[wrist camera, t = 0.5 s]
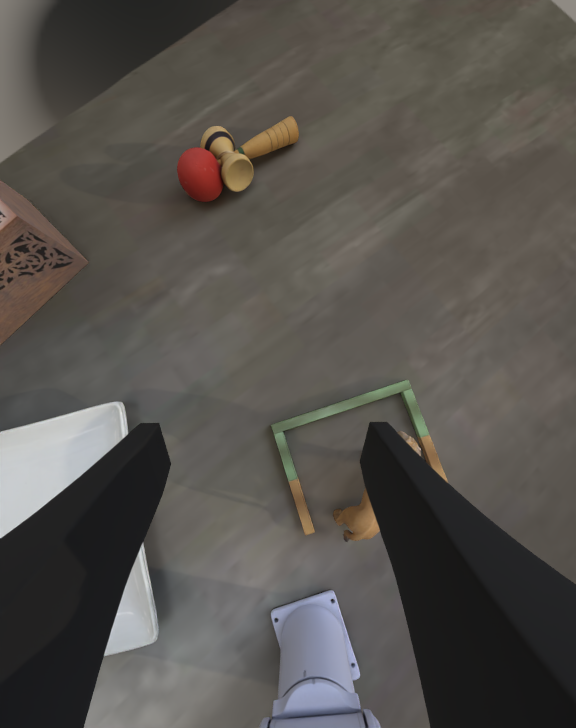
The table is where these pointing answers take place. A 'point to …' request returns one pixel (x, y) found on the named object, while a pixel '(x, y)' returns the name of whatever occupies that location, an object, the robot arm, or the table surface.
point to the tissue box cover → (30, 260)
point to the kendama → (228, 159)
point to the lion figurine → (364, 510)
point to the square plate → (56, 472)
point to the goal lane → (342, 406)
